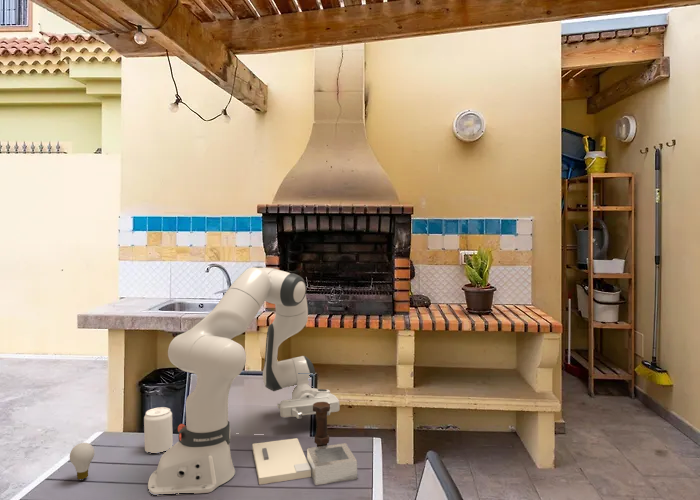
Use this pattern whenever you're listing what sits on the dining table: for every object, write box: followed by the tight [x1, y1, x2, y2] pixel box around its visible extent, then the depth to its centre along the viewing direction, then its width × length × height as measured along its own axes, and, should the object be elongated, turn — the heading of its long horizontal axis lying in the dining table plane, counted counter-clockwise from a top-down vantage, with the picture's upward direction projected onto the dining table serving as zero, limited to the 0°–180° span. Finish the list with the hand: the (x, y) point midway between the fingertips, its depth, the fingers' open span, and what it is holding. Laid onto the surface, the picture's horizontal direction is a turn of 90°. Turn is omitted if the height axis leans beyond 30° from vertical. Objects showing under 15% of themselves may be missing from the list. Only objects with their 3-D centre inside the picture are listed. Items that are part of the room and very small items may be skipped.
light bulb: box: [69, 442, 95, 480], centre depth 131 cm, size 6×6×10 cm
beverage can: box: [143, 406, 174, 454], centre depth 149 cm, size 8×8×12 cm
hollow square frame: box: [306, 442, 358, 486], centre depth 133 cm, size 12×12×5 cm
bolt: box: [313, 402, 330, 447], centre depth 145 cm, size 6×5×15 cm
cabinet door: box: [252, 437, 312, 486], centre depth 140 cm, size 14×22×3 cm, turn 16°
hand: (313, 414), depth 155 cm, fingers open, 8 cm apart
